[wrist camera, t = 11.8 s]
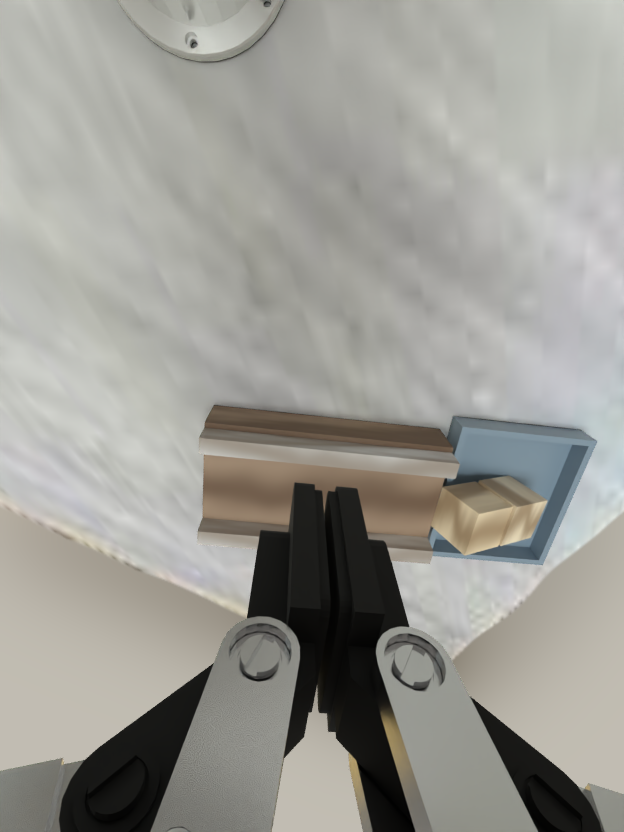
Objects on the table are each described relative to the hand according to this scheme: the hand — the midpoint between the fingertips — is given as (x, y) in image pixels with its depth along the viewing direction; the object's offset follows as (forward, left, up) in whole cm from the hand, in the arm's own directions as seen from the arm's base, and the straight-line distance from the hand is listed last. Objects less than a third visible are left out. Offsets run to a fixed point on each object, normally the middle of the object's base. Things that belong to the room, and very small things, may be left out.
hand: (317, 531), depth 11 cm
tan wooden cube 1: (+14, +16, -24) cm, 32 cm away
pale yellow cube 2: (+14, +19, -23) cm, 33 cm away
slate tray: (+14, +22, -27) cm, 37 cm away
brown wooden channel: (+14, +3, -27) cm, 31 cm away
